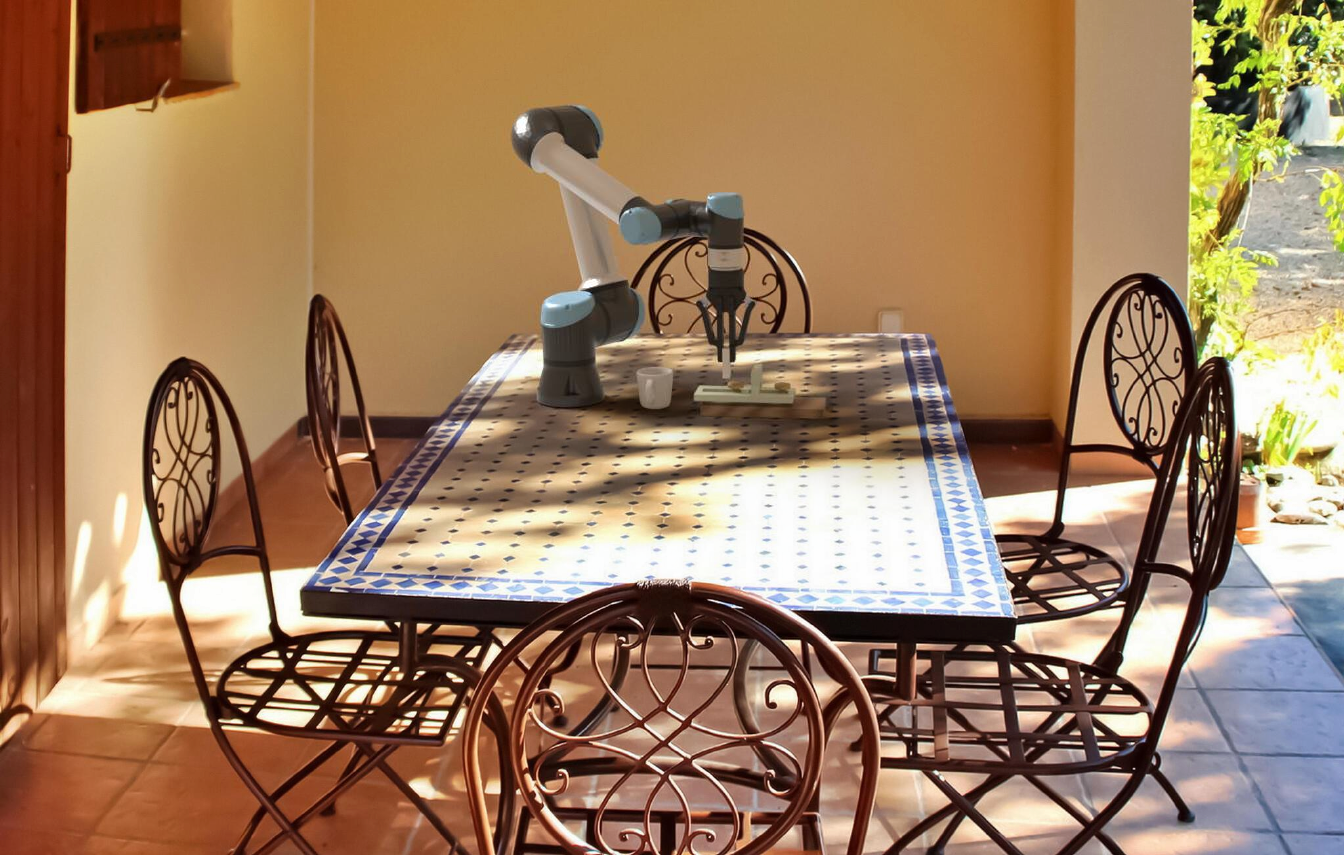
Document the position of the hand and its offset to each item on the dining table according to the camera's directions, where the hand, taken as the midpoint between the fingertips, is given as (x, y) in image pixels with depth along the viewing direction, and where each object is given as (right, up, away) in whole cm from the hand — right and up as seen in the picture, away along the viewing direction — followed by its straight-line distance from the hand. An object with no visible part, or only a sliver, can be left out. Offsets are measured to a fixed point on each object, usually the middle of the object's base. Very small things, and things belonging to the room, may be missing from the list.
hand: (726, 376), depth 308 cm
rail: (+8, -7, +1) cm, 11 cm away
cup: (-16, -7, +5) cm, 18 cm away
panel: (+4, -4, +1) cm, 6 cm away
